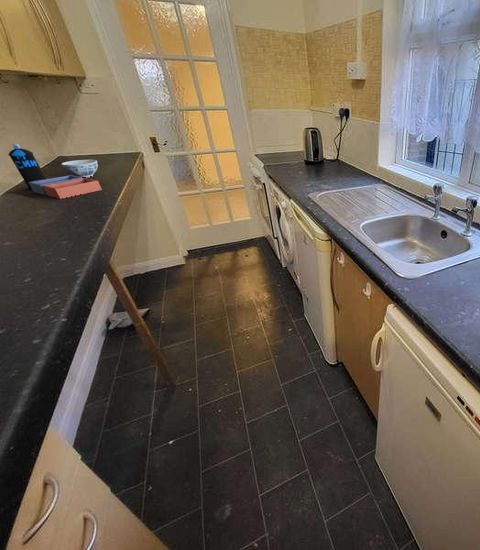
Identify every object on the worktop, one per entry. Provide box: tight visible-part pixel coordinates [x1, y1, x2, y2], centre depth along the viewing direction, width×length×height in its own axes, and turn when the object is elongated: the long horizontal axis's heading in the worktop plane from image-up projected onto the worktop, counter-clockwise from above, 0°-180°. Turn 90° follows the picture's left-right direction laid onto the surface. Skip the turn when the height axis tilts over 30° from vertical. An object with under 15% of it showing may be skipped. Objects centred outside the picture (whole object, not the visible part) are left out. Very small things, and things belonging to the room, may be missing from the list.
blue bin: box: [29, 174, 83, 196], centre depth 144 cm, size 17×11×5 cm, turn 155°
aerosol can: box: [7, 143, 47, 190], centre depth 142 cm, size 8×8×20 cm
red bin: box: [43, 177, 103, 200], centre depth 139 cm, size 17×11×5 cm, turn 155°
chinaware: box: [61, 159, 99, 178], centre depth 165 cm, size 15×15×8 cm
